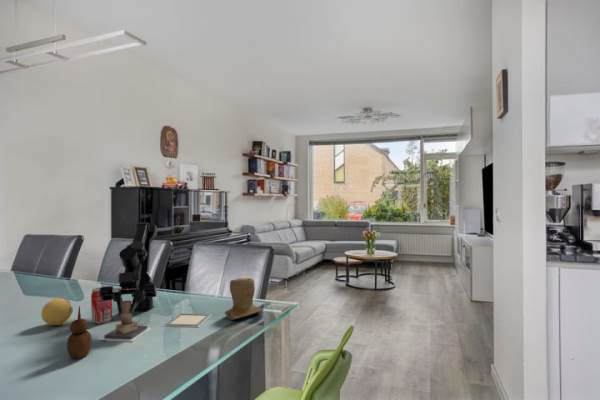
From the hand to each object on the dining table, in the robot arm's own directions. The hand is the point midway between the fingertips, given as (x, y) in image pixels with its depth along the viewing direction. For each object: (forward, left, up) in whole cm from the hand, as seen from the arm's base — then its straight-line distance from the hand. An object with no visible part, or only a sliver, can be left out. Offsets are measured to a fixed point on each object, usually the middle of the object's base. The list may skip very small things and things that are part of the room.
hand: (125, 313), depth 128 cm
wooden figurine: (-4, -17, -8) cm, 19 cm away
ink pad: (0, +1, -8) cm, 8 cm away
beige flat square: (+16, +17, -8) cm, 25 cm away
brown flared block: (+35, +25, -8) cm, 44 cm away
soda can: (-18, +13, -8) cm, 24 cm away
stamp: (-1, +2, -7) cm, 7 cm away
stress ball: (-33, +8, -8) cm, 35 cm away
